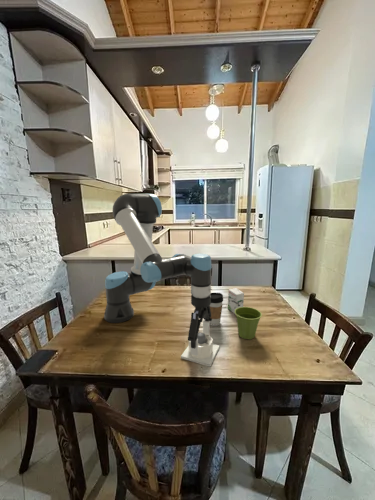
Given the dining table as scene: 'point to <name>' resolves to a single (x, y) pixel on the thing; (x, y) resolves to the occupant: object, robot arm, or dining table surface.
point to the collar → (204, 348)
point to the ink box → (235, 299)
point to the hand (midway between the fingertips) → (200, 344)
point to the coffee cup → (216, 308)
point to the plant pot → (247, 321)
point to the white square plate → (204, 361)
